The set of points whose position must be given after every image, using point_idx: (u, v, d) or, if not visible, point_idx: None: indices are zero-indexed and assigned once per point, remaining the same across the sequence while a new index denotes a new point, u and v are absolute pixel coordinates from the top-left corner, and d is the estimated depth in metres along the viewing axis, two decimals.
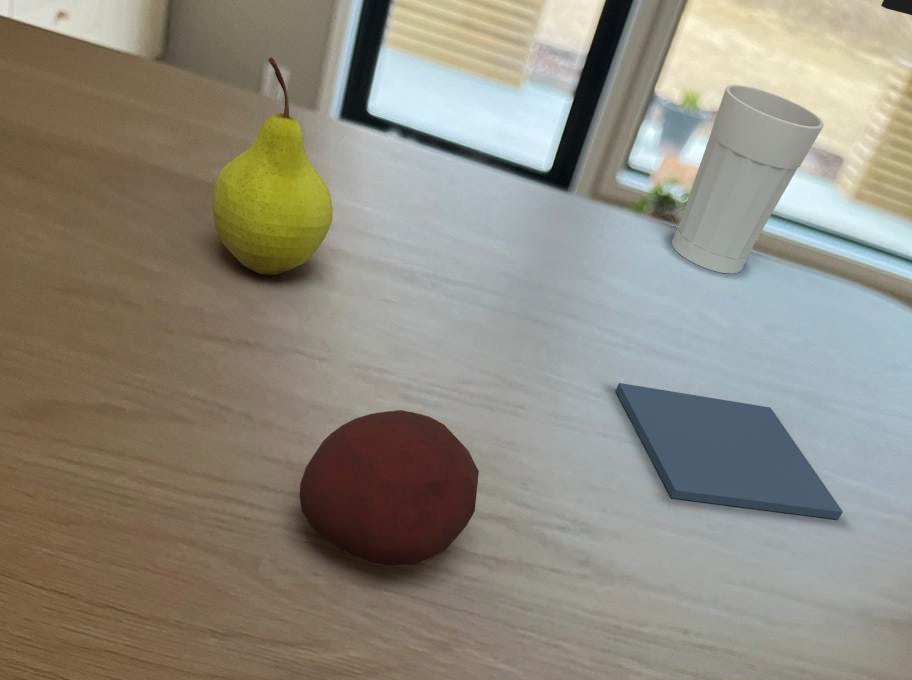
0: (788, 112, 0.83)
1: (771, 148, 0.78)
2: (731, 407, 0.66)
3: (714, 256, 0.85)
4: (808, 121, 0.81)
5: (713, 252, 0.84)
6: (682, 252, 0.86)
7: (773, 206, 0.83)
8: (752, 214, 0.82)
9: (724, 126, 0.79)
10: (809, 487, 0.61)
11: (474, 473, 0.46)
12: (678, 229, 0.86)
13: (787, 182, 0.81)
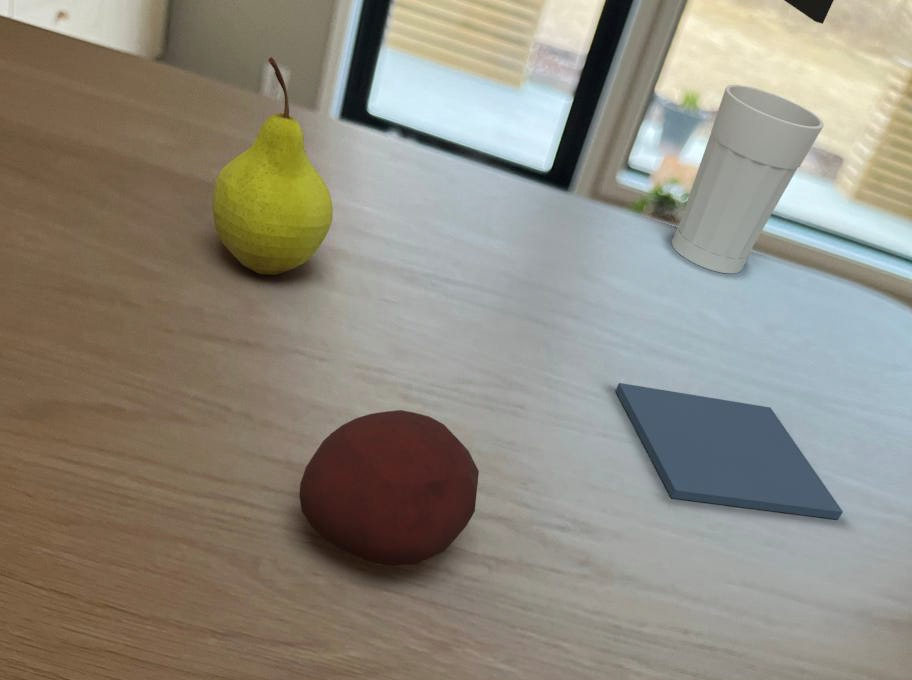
0: (788, 112, 0.83)
1: (771, 148, 0.78)
2: (731, 407, 0.66)
3: (714, 256, 0.85)
4: (808, 121, 0.81)
5: (713, 252, 0.84)
6: (682, 252, 0.86)
7: (773, 206, 0.83)
8: (752, 214, 0.82)
9: (724, 126, 0.79)
10: (809, 487, 0.61)
11: (474, 473, 0.46)
12: (678, 229, 0.86)
13: (787, 182, 0.81)
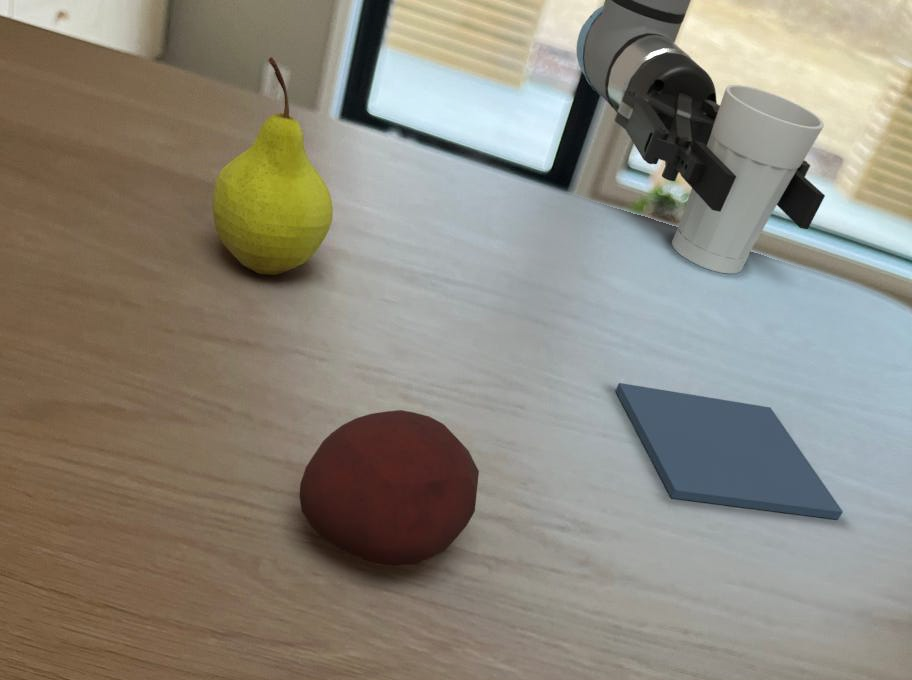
0: (788, 112, 0.83)
1: (771, 148, 0.78)
2: (731, 407, 0.66)
3: (714, 256, 0.85)
4: (808, 121, 0.81)
5: (713, 252, 0.84)
6: (682, 252, 0.86)
7: (773, 206, 0.83)
8: (752, 214, 0.82)
9: (724, 126, 0.79)
10: (809, 487, 0.61)
11: (474, 473, 0.46)
12: (678, 229, 0.86)
13: (787, 182, 0.81)
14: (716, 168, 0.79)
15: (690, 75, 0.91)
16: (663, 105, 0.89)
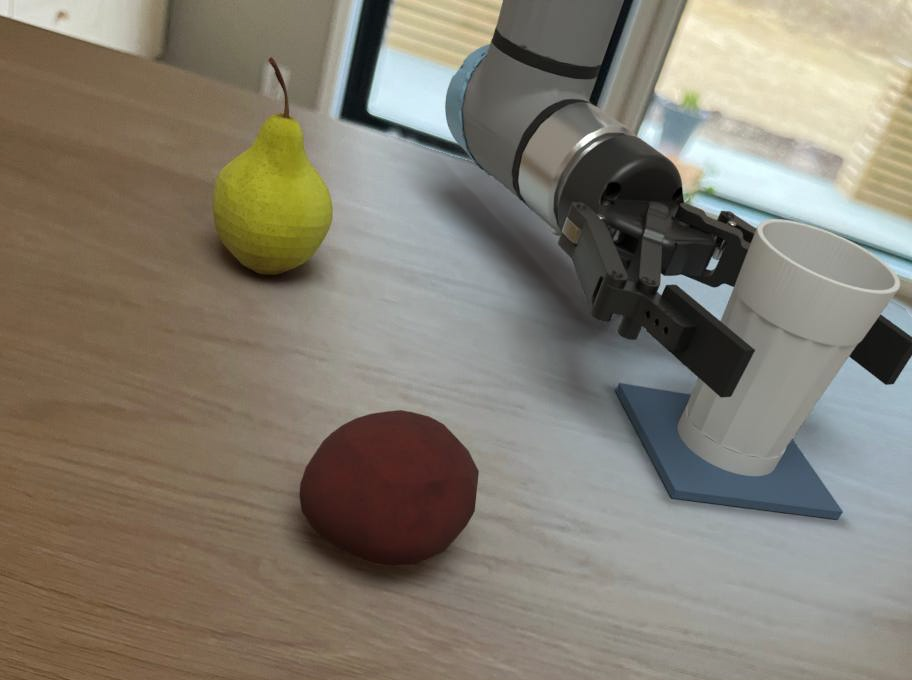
0: (827, 248, 0.58)
1: (844, 325, 0.53)
2: None
3: (752, 460, 0.60)
4: (862, 262, 0.57)
5: (751, 455, 0.59)
6: (704, 456, 0.60)
7: (828, 385, 0.58)
8: (806, 404, 0.58)
9: (768, 295, 0.54)
10: (809, 487, 0.61)
11: (474, 473, 0.46)
12: (690, 420, 0.61)
13: (849, 355, 0.57)
14: (718, 336, 0.53)
15: (653, 170, 0.63)
16: (634, 225, 0.62)
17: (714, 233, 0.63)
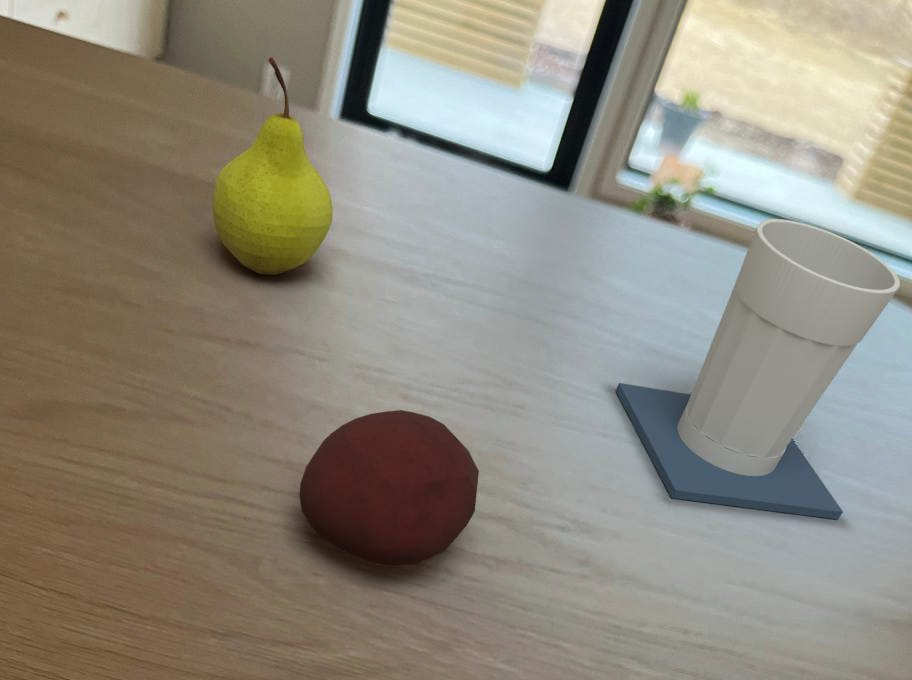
0: (827, 247, 0.58)
1: (844, 325, 0.53)
2: None
3: (752, 460, 0.60)
4: (862, 261, 0.57)
5: (751, 455, 0.59)
6: (704, 456, 0.60)
7: (828, 385, 0.58)
8: (806, 404, 0.58)
9: (768, 295, 0.54)
10: (809, 487, 0.61)
11: (474, 473, 0.46)
12: (690, 420, 0.61)
13: (849, 354, 0.57)
14: None
15: None
16: None
17: None
